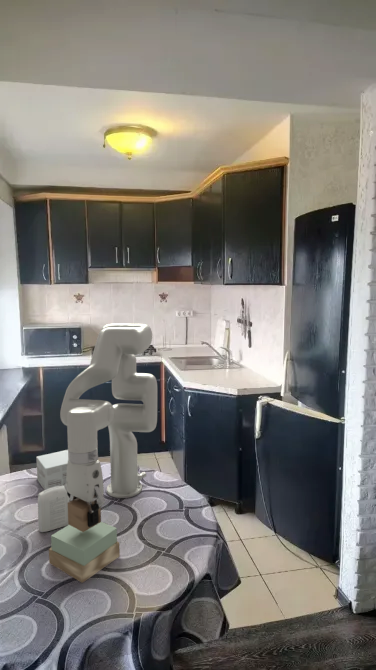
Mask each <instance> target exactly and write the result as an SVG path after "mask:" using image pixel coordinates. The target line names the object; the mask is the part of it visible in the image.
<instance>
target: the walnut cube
mask: <svg viewBox="0 0 376 670" xmlns="http://www.w3.org/2000/svg"><path fill="white" fill-rule="evenodd" d="M93 498H94V497H93ZM91 503H92V506H94V505H95V503H94V501H93V502H91ZM101 507H102V506H101ZM101 507H100V509H98V513H99V522H98V523H100V522H102V509H101ZM88 512H89V509H88V505H87V502H86V501H84V500H82V499H79V498H76V499H74V500H72V501H70V502H68V524H69V525H70V526H72V527H74V528H76V529H78V530H80V531H82V532H84V531H86V530H88V529H90V528H91V527H88ZM98 523H97V524H98ZM97 524H95V525H97ZM95 525H93V526H95ZM93 526H92V527H93Z"/></svg>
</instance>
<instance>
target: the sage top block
mask: <svg viewBox="0 0 376 670" xmlns="http://www.w3.org/2000/svg"><path fill="white" fill-rule="evenodd" d="M50 539H51V541H50V544H51V545H50V546H51V547H52V550H53V551H55V552H57V553H59V554H61V555H63V556H65V557H67V558H69V559H71V560H73V561H75V562H77V563H79V564H81V565H83V566H85V565H86V564H87V563H89V562H90V561H92V560H93V559H94V558H96V557H97V556H98V555H100V554H101V553H103V552H104V551H105V550H107V549H108V548H109V547H111V546H112V545H114V544H115V543H116V542H117V541H118V528H117V527H115V526H113V525H111V524H108V523H106V522H103V521H101V522H100V523H98V524H97V525H95V526H93V527H91V528H90V529H88V530H86V531H84V532H82V531H80V530H78V529H76V528H74V527H72V526H70V525H67V526H64V527H62V528H61V529H59V530H58V531H56V532H54V533H53V534H51V536H50Z"/></svg>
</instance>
